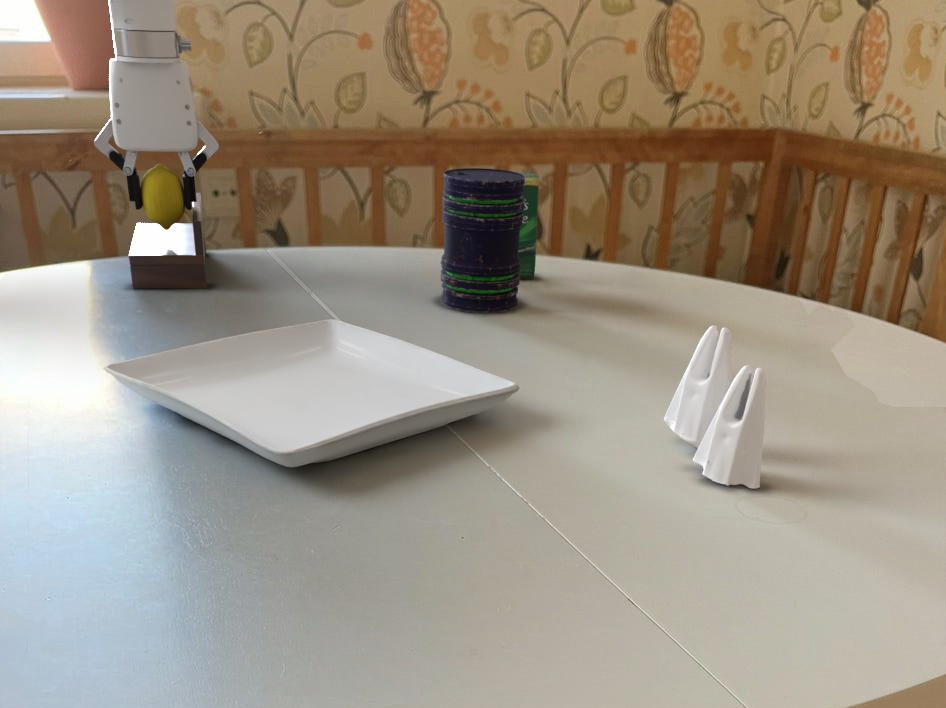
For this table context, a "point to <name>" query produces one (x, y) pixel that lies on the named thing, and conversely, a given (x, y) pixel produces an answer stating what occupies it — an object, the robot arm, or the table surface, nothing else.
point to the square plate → (312, 389)
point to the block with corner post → (170, 254)
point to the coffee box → (529, 227)
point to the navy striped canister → (481, 239)
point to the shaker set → (721, 413)
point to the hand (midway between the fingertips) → (163, 206)
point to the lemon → (162, 196)
